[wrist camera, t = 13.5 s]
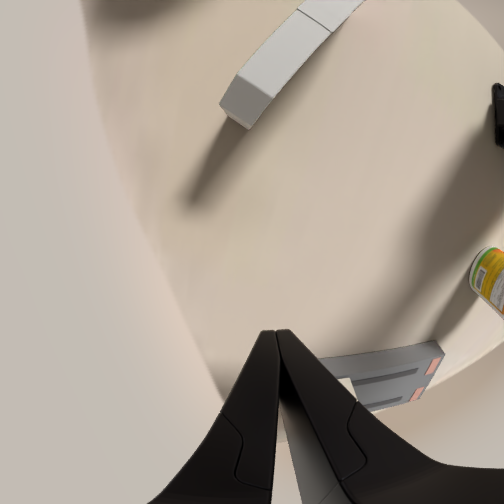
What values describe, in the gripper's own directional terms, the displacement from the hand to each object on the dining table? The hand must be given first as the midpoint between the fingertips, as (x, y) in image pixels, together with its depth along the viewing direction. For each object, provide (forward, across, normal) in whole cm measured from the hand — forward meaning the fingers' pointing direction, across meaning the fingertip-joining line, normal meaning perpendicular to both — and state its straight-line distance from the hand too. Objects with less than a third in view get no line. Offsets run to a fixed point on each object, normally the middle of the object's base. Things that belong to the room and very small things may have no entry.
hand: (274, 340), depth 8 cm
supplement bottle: (+12, -24, +5) cm, 28 cm away
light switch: (+12, -3, -11) cm, 17 cm away
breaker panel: (+12, -12, +18) cm, 24 cm away
